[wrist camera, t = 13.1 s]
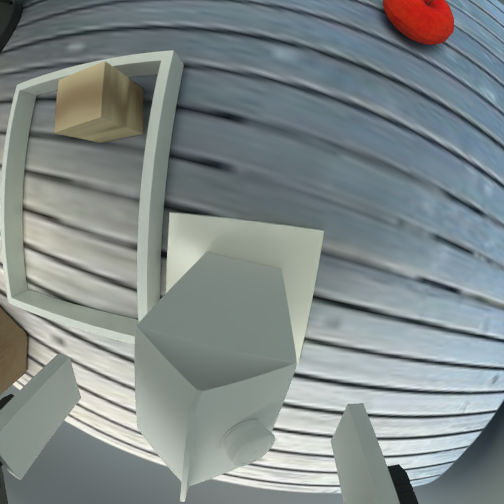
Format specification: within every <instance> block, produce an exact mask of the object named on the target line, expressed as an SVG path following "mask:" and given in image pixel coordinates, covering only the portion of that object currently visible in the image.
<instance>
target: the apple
mask: <svg viewBox="0 0 504 504" xmlns="http://www.w3.org/2000/svg"><path fill="white" fill-rule="evenodd" d="M383 7H384V11H385V13H386V15H387V17H388V18H389V20H390V21H391V22H392V24H393V25H394V26H395V27H396V28H397V29H398V30H399V31H400V32H401V33H402V34H404V35H405V36H406V37H408V38H410V39H412V40H414V41H416V42H419V43H422V44H430V45H434V44H439V43H443V42H444V41H446V40H447V38H448V37H449V36H450V35H451V34H452V33H453V30H454V18H453V15H452V12H451V9H450V7H449V5H448V4H447V2H446V1H445V0H383Z"/></svg>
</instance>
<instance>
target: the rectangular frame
mask: <svg viewBox="0 0 504 504" xmlns="http://www.w3.org/2000/svg"><path fill="white" fill-rule="evenodd" d="M104 61H106V62H107V63H108V64H110V65H111V66H113V67H114V68H116V69H117V70H118V71H120V72H121V73H122V74H124V75H125V76H127V77H135V76H145V75H158V77H157V81H156V86H155V91H154V96H153V102H152V107H151V113H150V119H149V125H148V131H147V138H146V146H145V153H144V162H143V171H142V181H141V192H140V205H139V221H138V246H137V301H138V320H137V319H133V318H128V317H124V316H120V315H116V314H111V313H107V312H103V311H99V310H95V309H92V308H88V307H84V306H80V305H77V304H73V303H70V302H66V301H63V300H59V299H56V298H53V297H49V296H46V295H43V294H40V293H37V292H34V291H30V290H28V289H27V281H26V273H25V262H24V249H23V183H24V170H25V160H26V151H27V143H28V137H29V130H30V125H31V119H32V114H33V109H34V105H35V100H36V96H37V95H40V94H44V93H47V92H51V91H55V90H58V83H59V80H60V79H63V78H65V77H67V76H69V75H72V74H74V73H76V72H79V71H81V70H83V69H86V68H88V67H91V66H94V65H96V64H99V63H102V62H104ZM183 68H184V64H183V63H182V61H181V60H180V59H179V57H178V56H177V54H176V53H175V52H174V50H173V51H161V52H150V53H142V54H134V55H127V56H121V57H115V58H109V59H104V60H99V61H94V62H90V63H85V64H81V65H77V66H73V67H69V68H66V69H62V70H59V71H55V72H52V73H49V74H46V75H43V76H40V77H37V78H34V79H31V80H28V81H25V82H23V83H20V84H18V85H17V87H16V91H15V95H14V99H13V103H12V107H11V112H10V117H9V122H8V127H7V133H6V140H5V147H4V155H3V164H2V176H1V194H0V229H1V248H2V260H3V269H4V277H5V284H6V291H7V297H8V303H10V304H12V305H14V306H17V307H19V308H22V309H24V310H27V311H29V312H32V313H34V314H37V315H40V316H42V317H45V318H48V319H50V320H53V321H56V322H59V323H62V324H65V325H68V326H71V327H74V328H77V329H80V330H83V331H87V332H90V333H93V334H97V335H100V336H104V337H107V338H111V339H114V340H118V341H122V342H126V343H130V344H134V345H135V327H136V325H137V324H138V323H139V322H140V321H141V320H142V319H143V317H144V316H145V315H146V314H147V313H148V312H149V311H150V310H151V309H152V308H153V307H154V306H155V305H156V304H157V302H158V301H159V300H160V269H161V244H162V226H163V212H164V199H165V188H166V178H167V169H168V160H169V152H170V144H171V137H172V130H173V123H174V117H175V111H176V105H177V99H178V93H179V88H180V83H181V77H182V72H183Z"/></svg>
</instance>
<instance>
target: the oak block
mask: <svg viewBox="0 0 504 504" xmlns="http://www.w3.org/2000/svg"><path fill="white" fill-rule="evenodd" d="M143 92H144V89H143V88H141V87H140V86H139V85H137V84H136V83H135V82H133V81H132V80H131V79H129V78H128V77H127V76H125V75H124V74H122V73H121V72H120V71H118V70H117V69H116V68H114V67H113V66H111V65H110V64H108V63H107V62H106V61H104V62H102V63H99V64H96V65H94V66H91V67H88V68H86V69H83V70H81V71H79V72H76V73H74V74H72V75H69V76H67V77H65V78H63V79H60V80H59V83H58V91H57V100H56V111H55V126H54V133H56V134H61V135H66V136H71V137H76V138H81V139H85V140H90V141H94V142H99V143H105V142H109V141H113V140H117V139H122V138H126V137H131V136H136V135H140V134H143Z"/></svg>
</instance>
